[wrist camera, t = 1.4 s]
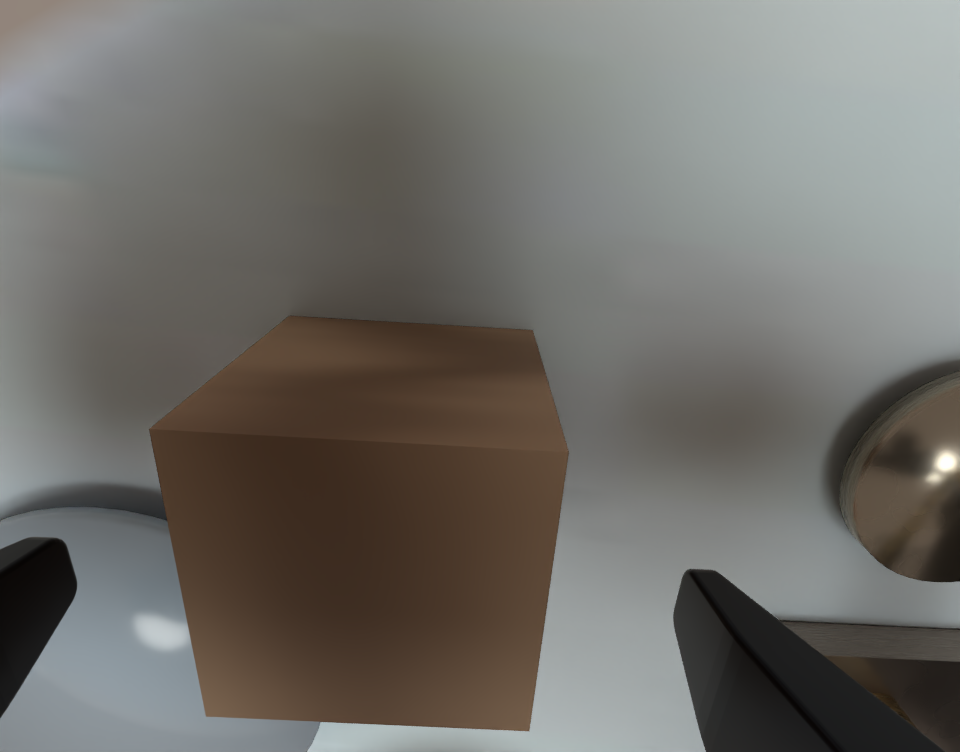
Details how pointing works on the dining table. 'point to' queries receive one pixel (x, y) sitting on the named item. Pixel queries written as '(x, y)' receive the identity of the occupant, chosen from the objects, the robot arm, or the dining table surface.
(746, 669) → the robot arm
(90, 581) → the disc
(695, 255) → the dining table surface
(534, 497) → the walnut block
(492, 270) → the dining table surface
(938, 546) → the balance
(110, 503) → the dining table surface
